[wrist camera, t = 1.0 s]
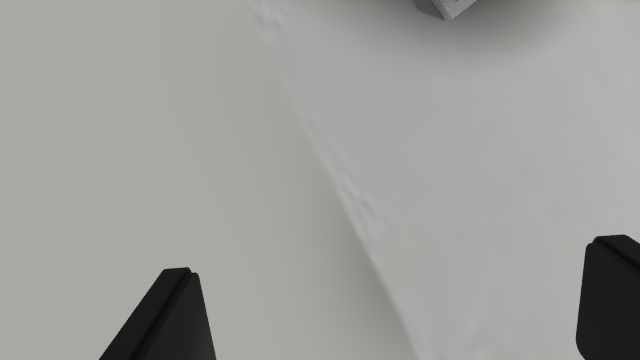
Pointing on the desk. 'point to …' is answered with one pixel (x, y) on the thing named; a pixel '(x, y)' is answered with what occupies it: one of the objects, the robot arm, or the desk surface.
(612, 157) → the desk surface
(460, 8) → the panel
